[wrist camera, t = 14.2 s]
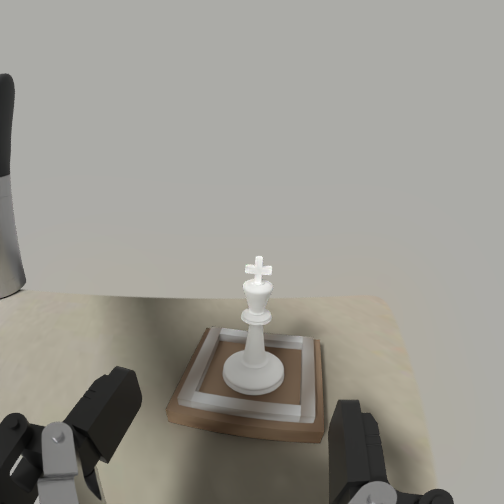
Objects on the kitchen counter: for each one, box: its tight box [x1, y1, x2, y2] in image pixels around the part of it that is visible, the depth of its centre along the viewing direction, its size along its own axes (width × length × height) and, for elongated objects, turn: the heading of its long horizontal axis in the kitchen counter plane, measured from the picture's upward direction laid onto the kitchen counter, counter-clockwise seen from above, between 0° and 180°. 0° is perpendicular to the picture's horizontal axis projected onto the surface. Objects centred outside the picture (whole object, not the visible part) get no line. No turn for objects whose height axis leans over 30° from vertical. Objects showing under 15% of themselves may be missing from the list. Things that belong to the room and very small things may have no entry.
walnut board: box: [166, 326, 324, 443], centre depth 22 cm, size 11×11×2 cm
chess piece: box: [223, 256, 284, 395], centre depth 20 cm, size 5×5×10 cm
